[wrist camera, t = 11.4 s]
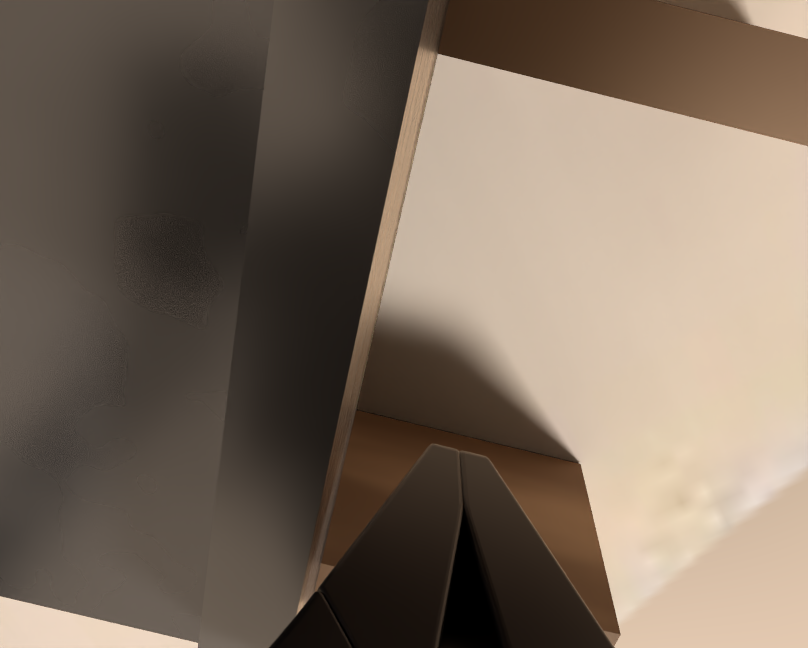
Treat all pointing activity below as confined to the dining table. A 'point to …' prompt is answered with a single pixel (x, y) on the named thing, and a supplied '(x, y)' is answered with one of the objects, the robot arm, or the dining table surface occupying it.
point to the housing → (620, 78)
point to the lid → (192, 293)
